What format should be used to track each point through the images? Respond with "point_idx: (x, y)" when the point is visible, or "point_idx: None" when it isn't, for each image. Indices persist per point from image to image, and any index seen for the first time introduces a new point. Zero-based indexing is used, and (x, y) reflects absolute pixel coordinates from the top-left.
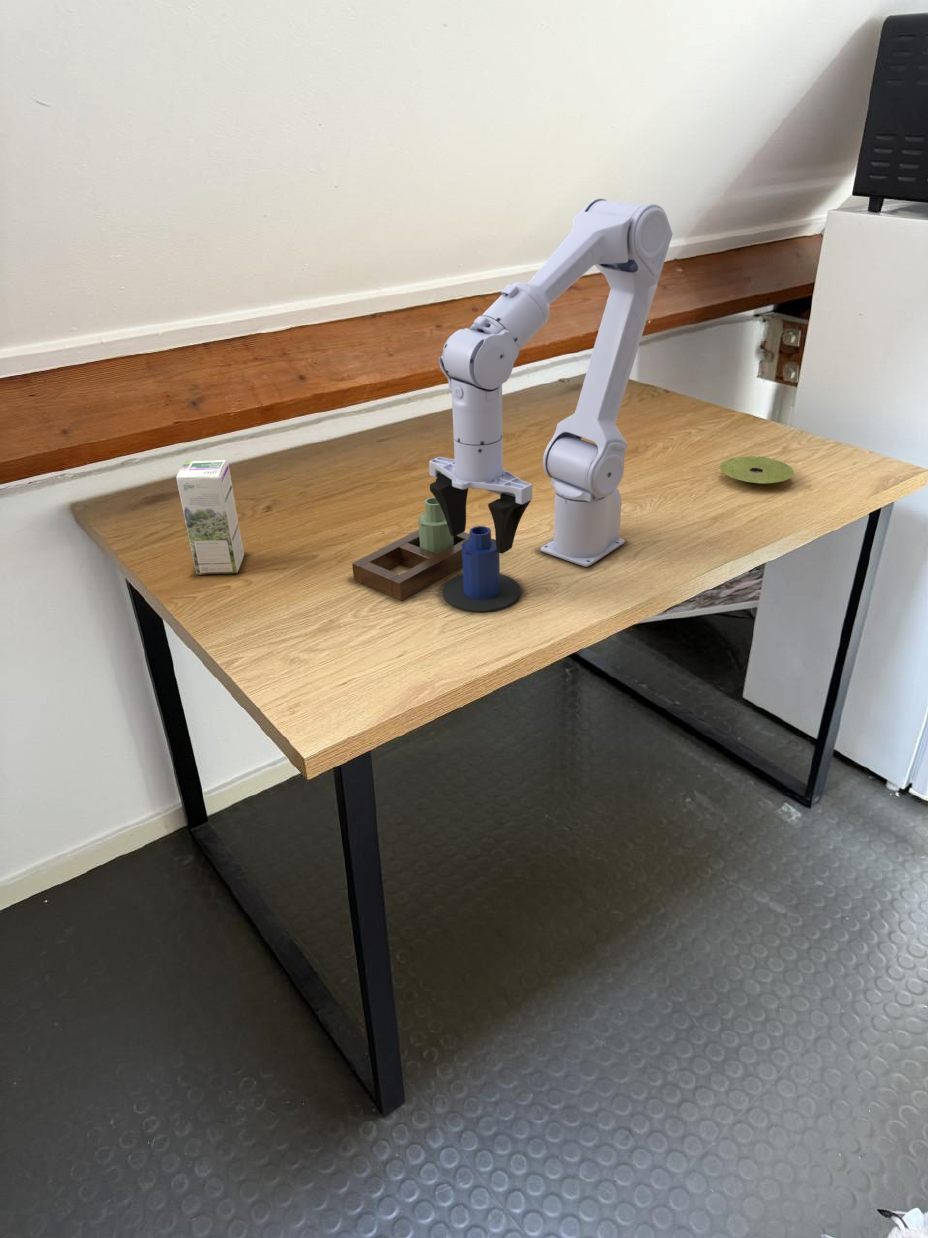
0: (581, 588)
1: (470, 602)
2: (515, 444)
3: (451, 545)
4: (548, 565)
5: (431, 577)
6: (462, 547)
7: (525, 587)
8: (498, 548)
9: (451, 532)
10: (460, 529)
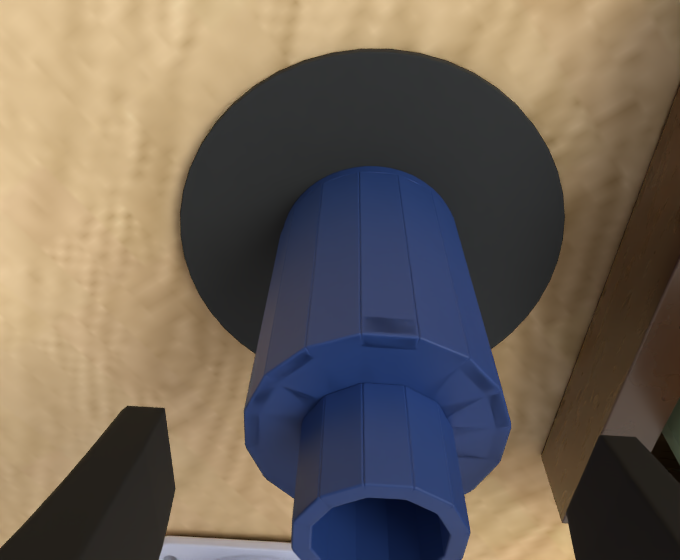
0: (76, 442)
1: (346, 129)
2: None
3: (673, 435)
4: (279, 498)
5: (658, 198)
6: (473, 362)
7: (240, 360)
8: (129, 431)
9: (636, 456)
10: (588, 508)
